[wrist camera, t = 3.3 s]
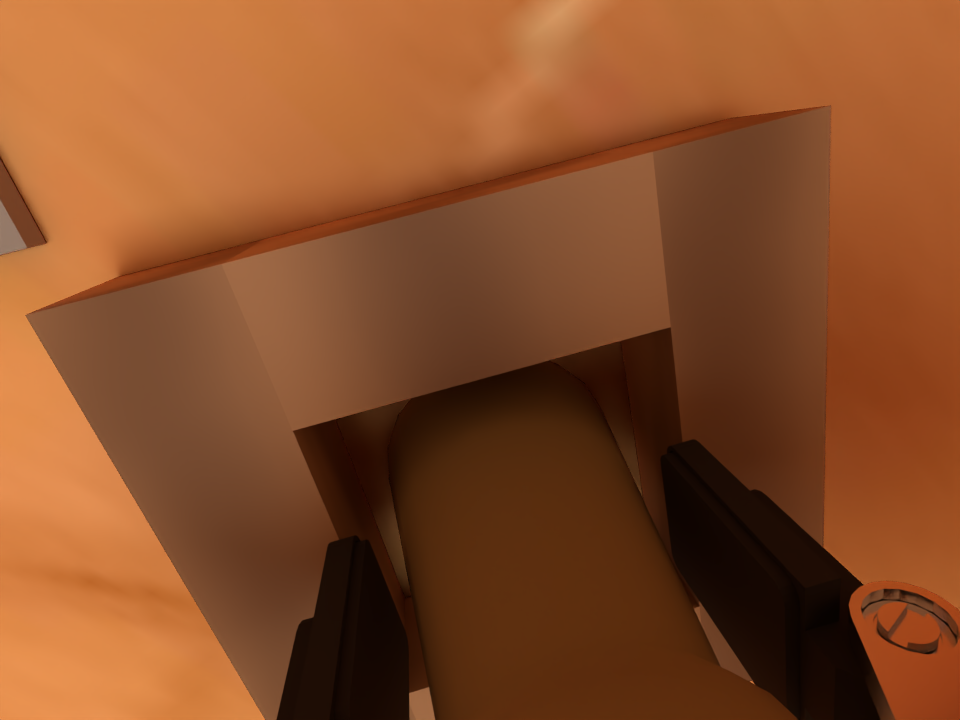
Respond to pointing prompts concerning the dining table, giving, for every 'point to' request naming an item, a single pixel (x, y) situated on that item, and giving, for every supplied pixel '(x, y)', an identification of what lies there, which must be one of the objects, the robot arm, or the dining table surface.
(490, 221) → the walnut holder
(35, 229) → the slate mat
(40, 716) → the dining table surface
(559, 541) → the cork
